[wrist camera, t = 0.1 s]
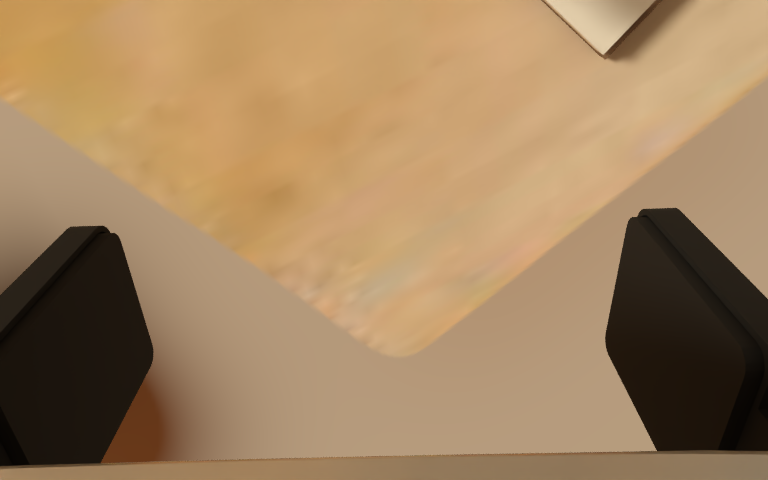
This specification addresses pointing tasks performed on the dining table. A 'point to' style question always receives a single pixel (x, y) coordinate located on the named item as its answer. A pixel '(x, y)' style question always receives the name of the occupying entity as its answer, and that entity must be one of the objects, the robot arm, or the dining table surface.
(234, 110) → the dining table surface
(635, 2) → the white grooved board
